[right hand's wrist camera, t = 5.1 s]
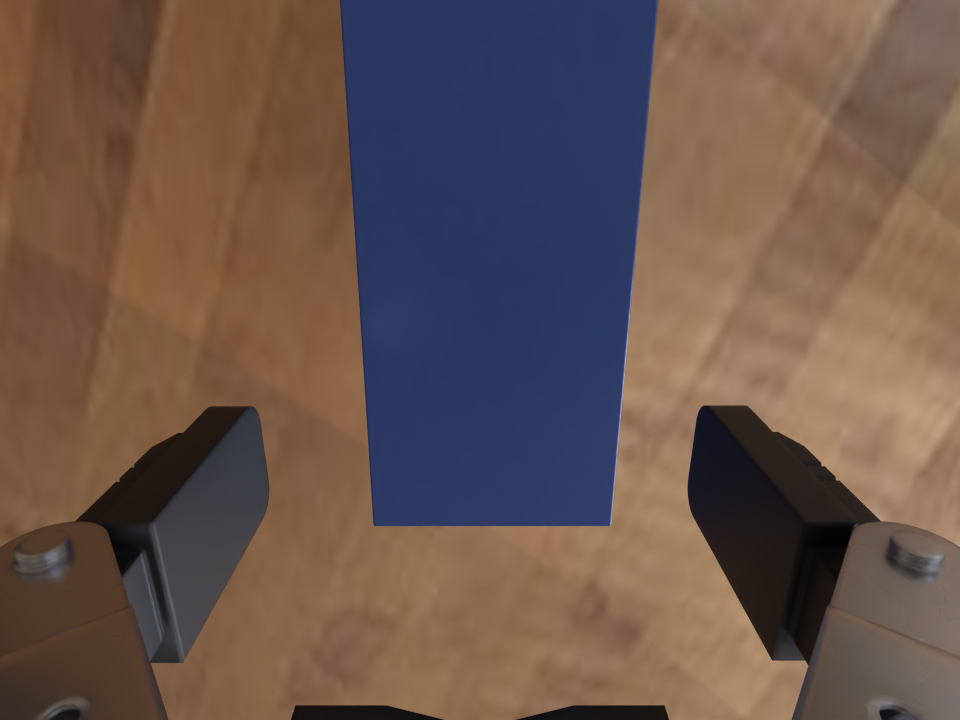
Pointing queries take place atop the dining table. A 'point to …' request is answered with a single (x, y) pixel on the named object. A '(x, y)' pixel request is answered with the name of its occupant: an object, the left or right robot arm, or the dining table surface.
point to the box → (495, 250)
